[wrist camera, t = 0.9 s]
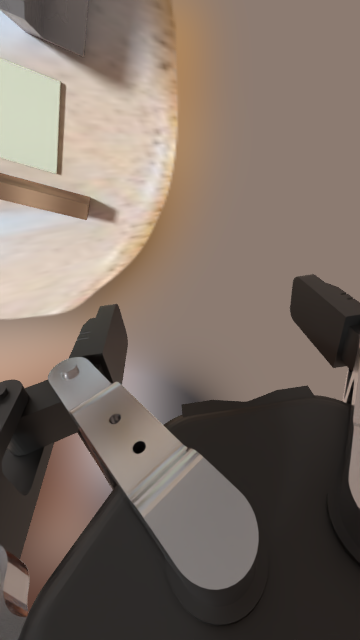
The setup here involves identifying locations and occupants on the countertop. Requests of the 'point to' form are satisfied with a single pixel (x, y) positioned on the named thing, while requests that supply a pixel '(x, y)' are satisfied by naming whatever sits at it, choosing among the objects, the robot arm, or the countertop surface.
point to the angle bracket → (51, 21)
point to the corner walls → (43, 197)
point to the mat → (29, 117)
